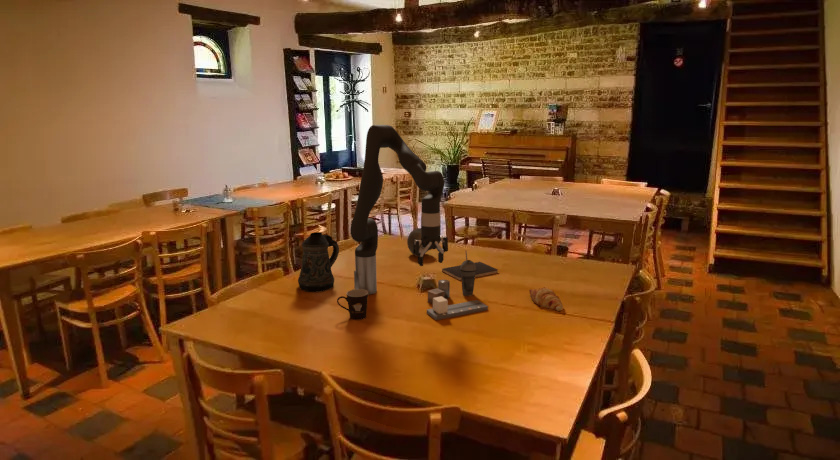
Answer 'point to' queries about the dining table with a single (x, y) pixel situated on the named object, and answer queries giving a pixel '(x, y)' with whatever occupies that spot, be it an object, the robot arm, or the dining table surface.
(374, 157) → the robot arm
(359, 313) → the coffee mug
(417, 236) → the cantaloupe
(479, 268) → the hardcover book
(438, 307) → the knob
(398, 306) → the dining table surface
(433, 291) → the walnut block
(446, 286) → the metal canister
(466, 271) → the beverage cup
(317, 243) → the beer stein
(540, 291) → the croissant
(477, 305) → the board
